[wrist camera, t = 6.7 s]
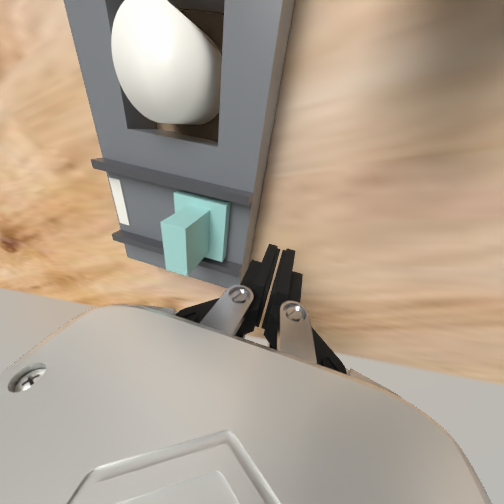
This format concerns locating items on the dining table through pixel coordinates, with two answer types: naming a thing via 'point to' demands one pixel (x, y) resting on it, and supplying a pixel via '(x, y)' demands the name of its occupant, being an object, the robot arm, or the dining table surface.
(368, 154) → the dining table surface
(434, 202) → the dining table surface
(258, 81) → the control panel
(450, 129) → the dining table surface
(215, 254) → the teal slide switch
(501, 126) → the dining table surface
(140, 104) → the push button
